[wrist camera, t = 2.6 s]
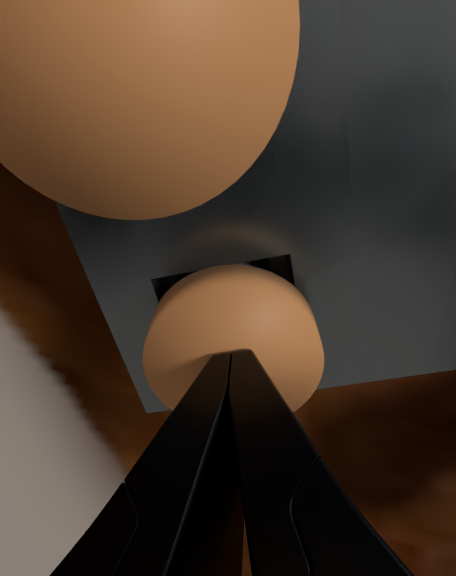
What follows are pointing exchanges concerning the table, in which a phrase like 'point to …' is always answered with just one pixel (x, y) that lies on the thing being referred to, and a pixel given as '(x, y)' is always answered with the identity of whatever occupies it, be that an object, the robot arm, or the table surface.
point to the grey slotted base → (324, 202)
